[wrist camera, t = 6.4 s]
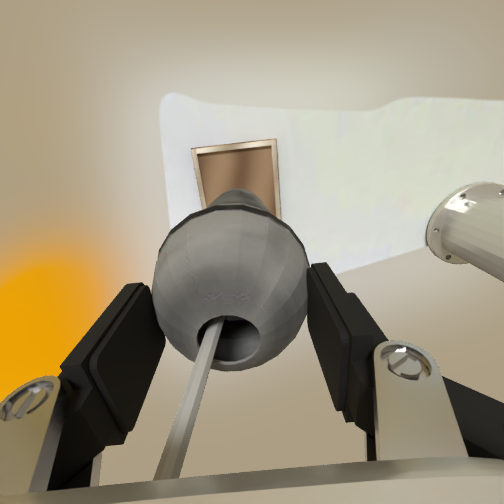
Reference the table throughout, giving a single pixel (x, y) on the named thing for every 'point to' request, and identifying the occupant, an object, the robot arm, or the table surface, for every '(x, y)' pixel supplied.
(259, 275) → the beverage cup
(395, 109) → the table surface
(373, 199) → the table surface
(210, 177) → the walnut board
